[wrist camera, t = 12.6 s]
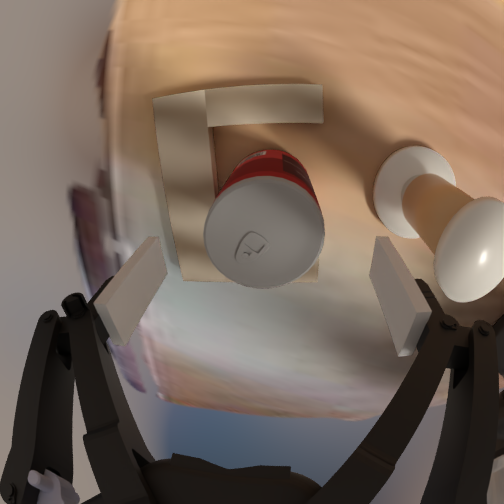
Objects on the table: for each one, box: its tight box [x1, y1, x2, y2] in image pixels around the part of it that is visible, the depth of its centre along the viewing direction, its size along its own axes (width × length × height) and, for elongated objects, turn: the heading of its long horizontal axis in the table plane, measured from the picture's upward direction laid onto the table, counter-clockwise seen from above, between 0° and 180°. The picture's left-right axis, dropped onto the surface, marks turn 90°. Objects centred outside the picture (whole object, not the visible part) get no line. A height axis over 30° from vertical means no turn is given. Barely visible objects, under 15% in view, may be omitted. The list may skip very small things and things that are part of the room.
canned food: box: [203, 150, 325, 288], centre depth 22 cm, size 8×8×11 cm
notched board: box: [152, 84, 323, 282], centre depth 26 cm, size 20×15×2 cm
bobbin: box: [373, 146, 504, 302], centre depth 20 cm, size 10×10×13 cm
